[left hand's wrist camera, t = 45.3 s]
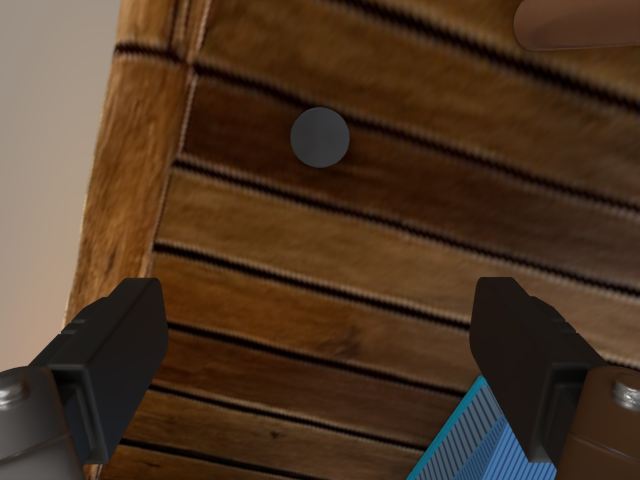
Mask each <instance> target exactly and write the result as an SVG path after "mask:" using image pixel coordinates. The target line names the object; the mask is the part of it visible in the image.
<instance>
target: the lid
mask: <svg viewBox="0 0 640 480" xmlns="http://www.w3.org/2000/svg"><path fill="white" fill-rule="evenodd" d="M290 141H291V146H292V149H293V151H294V153H295V155H296V156H297V157H298V158H299V159H300V160H301V161H302V162H303V163H305V164H307V165H309V166H312V167H317V168H323V167H328V166H331V165H333V164H335V163H337V162H338V161H339V160H340V159H341V158H342V157H343V156H344V155H345V153H346V151H347V149H348V146H349V141H350V135H349V129H348V126H347V124H346V122H345V120H344V118H343V117H342V116H341V115H340V114H339V113H338V112H337V111H336V110H334V109H332V108H330V107H327V106H313V107H310V108H308V109H306V110H304V111H303V112H302V113H300V115H299V116H298V117H297V118H296V120H295V122H294V124H293V126H292V129H291V134H290Z"/></svg>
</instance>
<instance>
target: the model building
mask: <svg viewBox="0 0 640 480" xmlns="http://www.w3.org/2000/svg"><path fill="white" fill-rule="evenodd" d="M556 471H557V470H556V468H555V467H554V465H553V463H529V462H528V460H527V458H526V456H525V454H524V452H523V450H522V448H521V446H520V444H519V443H518V441H517V439H516V437H515V435H514V433H513V431H512V429H511V427H510V425H509V424H508V422H507V420H506V418H505V416H504V414H503V412H502V410H501V408H500V406H499V404H498V403H497V401H496V399H495V397H494V395H493V393H492V391H491V389H490V387H489V385H488V384H487V382H486V380H485V378H484V377H483V376H479V377H478V378H477V380H476V381H475V383H474V384H473V385H472V387H471V388H470V390H469V391H468V392H467V394H466V395H465V397H464V398H463V400H462V401H461V402H460V404H459V405H458V407H457V408H456V409H455V411H454V412H453V414H452V415H451V416H450V418H449V419H448V421H447V422H446V424H445V425H444V426H443V428H442V429H441V431H440V432H439V433H438V435H437V436H436V438H435V439H434V440H433V442H432V443H431V445H430V446H429V448H428V449H427V450H426V452H425V453H424V455H423V456H422V457H421V459H420V460H419V462H418V463H417V464H416V466H415V467H414V469H413V470H412V472H411V473H410V474H409V476H408V477H407V479H406V480H554V478H555V474H556Z"/></svg>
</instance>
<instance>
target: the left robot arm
mask: <svg viewBox="0 0 640 480" xmlns="http://www.w3.org/2000/svg"><path fill="white" fill-rule="evenodd" d="M469 340H470V348H471V352H472V355H473V357H474V359H475V361H476V363H477V364H478V366H479V368H480V370H481V372H482V374H483V376H484V378H485V380H486V382H487V384H488V385H489V387H490V389H491V391H492V393H493V395H494V397H495V399H496V401H497V403H498V404H499V406H500V408H501V410H502V412H503V414H504V416H505V418H506V420H507V422H508V424H509V425H510V427H511V429H512V431H513V433H514V435H515V437H516V439H517V441H518V443H519V444H520V446H521V448H522V450H523V452H524V454H525V456H526V458H527V460H528V462H529V463H553V465H554V467H555V468H556V470H557V471H556V474H555V478H554V480H640V372H637V371H634V370H631V369H628V368H623V367H617V366H609V365H608V363H607V362H606V361H605V360H604V359H603V358H602V357H601V356H600V355H599V354H598V353H597V352H596V351H595V350H594V349H593V348H592V347H591V346H590V345H589V344H588V343H587V342H586V341H585V340H584V339H583V337H582V336H581V335H580V334H579V333H576V330H575V329H574V328H573V327H572V326H571V325H570V324H569V323H568V322H566V321H565V319H564V318H563V317H562V316H561V315H560V314H559V313H558V311H557V310H556V309H555V308H554V307H552V306H550V305H549V304H547V303H545V302H543V301H542V300H540V299H538V298H536V297H535V296H529V295H528V294H527V293H526V292H525V290H524V289H523V288H522V287H521V286H520V285H519V284H518V283H517V282H516V281H515V279H513V278H512V277H481V278H479V280H478V282H477V285H476V290H475V297H474V304H473V311H472V318H471V324H470V332H469ZM167 347H168V327H167V321H166V314H165V307H164V300H163V294H162V287H161V284H160V281H159V280H158V279H157V278H125V279H124V280H122V282H121V283H120V284H119V285H118V286H117V287H116V288H115V289H114V290H113V291H112V292H111V294H110V295H109V296H108V297H102V298H100V299H99V300H97V301H95V302H93V303H92V304H90V305H88V306H86V307H85V308H83V309H82V310H81V311H80V312H79V313H78V314H77V315H76V316H75V318H74V319H73V320H72V321H71V323H69V324H68V325H67V326H66V327H65V328H64V329H63V330H62V331H61V334H58V335H57V336H56V337H55V338H54V339H53V340H52V341H51V342H50V343H49V344H48V345H47V346H46V347H45V348H44V349H43V350H42V352H41V353H40V354H39V355H38V356H37V357H36V358H35V359H34V360H33V361H32V362H31V363H30V364H29V365H28V366H23V367H17V368H13V369H9V370H6V371H3V372H0V480H86V478H85V475H84V471H83V468H82V467H83V465H84V464H108V462H109V461H110V459H111V457H112V455H113V453H114V451H115V449H116V447H117V445H118V444H119V442H120V440H121V438H122V436H123V434H124V432H125V430H126V429H127V427H128V425H129V423H130V421H131V419H132V417H133V415H134V414H135V412H136V410H137V408H138V406H139V404H140V402H141V400H142V398H143V397H144V395H145V393H146V391H147V389H148V387H149V385H150V383H151V382H152V380H153V378H154V376H155V374H156V372H157V370H158V368H159V366H160V365H161V363H162V361H163V359H164V357H165V355H166V351H167Z"/></svg>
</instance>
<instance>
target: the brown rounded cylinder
mask: <svg viewBox="0 0 640 480" xmlns="http://www.w3.org/2000/svg"><path fill="white" fill-rule="evenodd" d="M513 29H514V34H515V37H516V39H517V41H518V42H519V44H520V45H521V46H523V47H524V48H526V49H528V50H531V51H551V50H568V49H584V48H600V47H617V46H633V45H640V0H523V1H522V3H521V4H520V5H519V7H518V9H517V11H516V14H515V17H514V23H513Z"/></svg>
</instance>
